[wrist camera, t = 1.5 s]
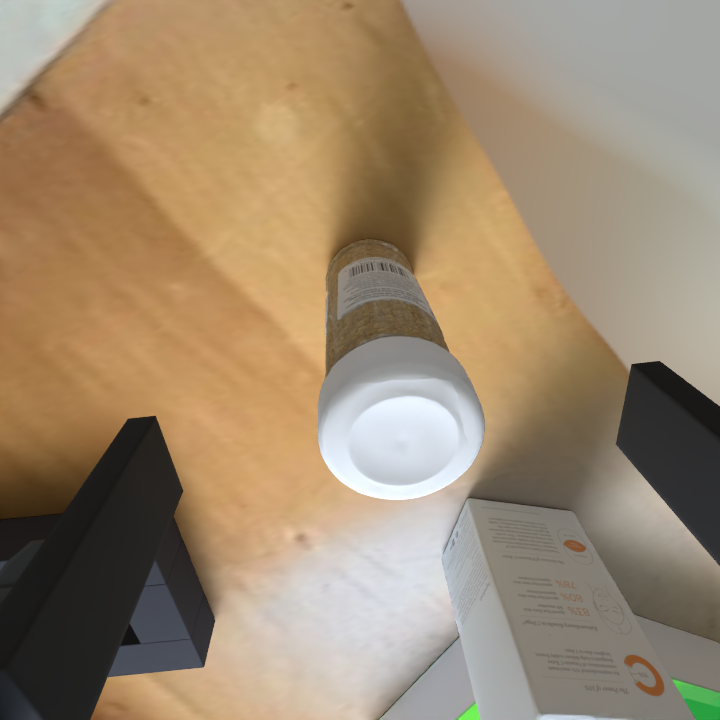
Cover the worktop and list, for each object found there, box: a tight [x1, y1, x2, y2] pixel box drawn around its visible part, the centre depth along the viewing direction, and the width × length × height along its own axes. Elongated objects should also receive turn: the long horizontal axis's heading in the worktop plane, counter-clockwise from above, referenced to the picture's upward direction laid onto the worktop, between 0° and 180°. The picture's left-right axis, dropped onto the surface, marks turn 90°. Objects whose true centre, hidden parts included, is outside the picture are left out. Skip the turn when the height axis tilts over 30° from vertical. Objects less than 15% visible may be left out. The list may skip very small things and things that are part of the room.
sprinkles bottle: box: [318, 239, 485, 500], centre depth 18 cm, size 5×5×13 cm
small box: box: [442, 498, 696, 720], centre depth 28 cm, size 8×6×13 cm
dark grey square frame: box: [0, 514, 215, 677], centre depth 32 cm, size 13×13×4 cm
